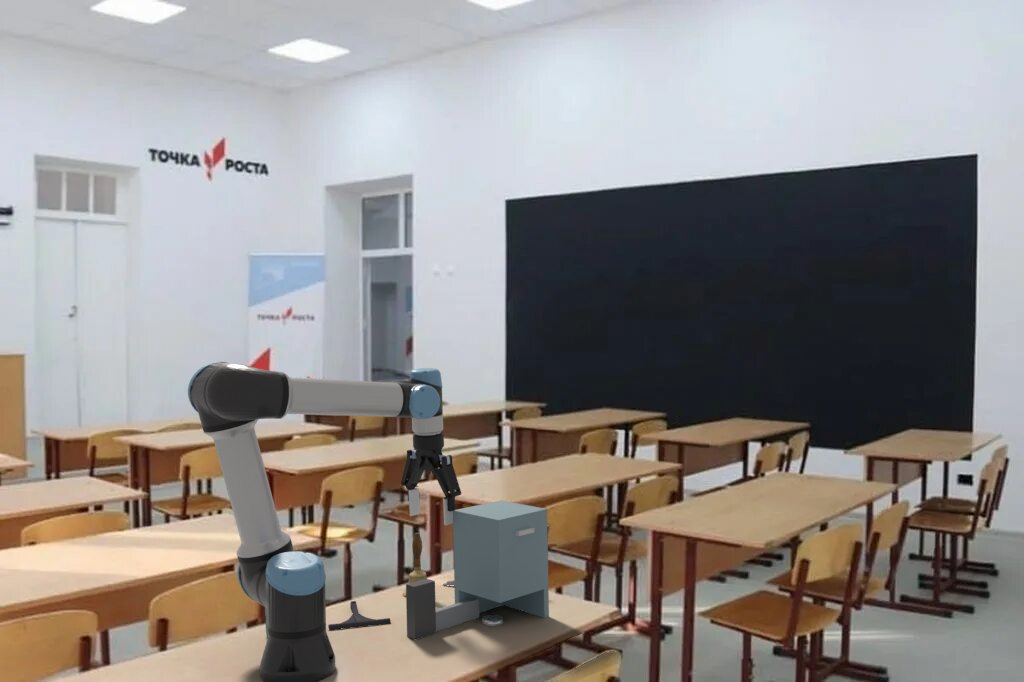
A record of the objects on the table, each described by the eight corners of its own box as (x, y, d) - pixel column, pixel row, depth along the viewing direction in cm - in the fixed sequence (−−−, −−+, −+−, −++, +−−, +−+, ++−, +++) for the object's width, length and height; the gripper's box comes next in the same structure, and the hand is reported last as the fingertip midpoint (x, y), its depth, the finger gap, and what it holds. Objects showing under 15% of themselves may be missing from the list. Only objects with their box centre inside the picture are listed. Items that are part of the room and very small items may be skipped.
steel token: (492, 628, 210) (492, 623, 210) (477, 623, 214) (477, 618, 214) (507, 623, 214) (507, 618, 214) (493, 618, 217) (493, 613, 217)
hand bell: (398, 591, 240) (397, 531, 239) (428, 587, 243) (427, 528, 243) (407, 600, 232) (406, 538, 232) (438, 595, 235) (437, 535, 235)
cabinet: (503, 634, 205) (501, 520, 205) (455, 617, 218) (453, 510, 217) (552, 617, 216) (550, 509, 216) (503, 602, 229) (501, 500, 228)
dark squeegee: (381, 607, 229) (381, 596, 229) (390, 626, 214) (390, 614, 214) (323, 614, 224) (323, 603, 224) (329, 633, 210) (328, 621, 210)
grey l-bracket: (415, 639, 203) (414, 586, 203) (407, 636, 205) (405, 584, 205) (481, 618, 217) (480, 568, 216) (473, 615, 219) (472, 566, 219)
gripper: (474, 435, 213) (477, 524, 216) (407, 424, 230) (410, 507, 232) (451, 440, 208) (454, 532, 210) (384, 429, 224) (388, 514, 226)
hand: (431, 519), depth 221 cm, fingers open, 12 cm apart
